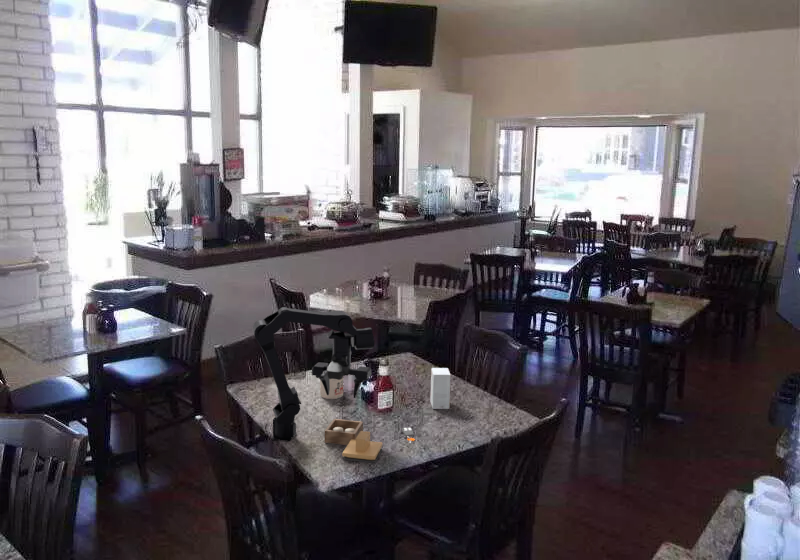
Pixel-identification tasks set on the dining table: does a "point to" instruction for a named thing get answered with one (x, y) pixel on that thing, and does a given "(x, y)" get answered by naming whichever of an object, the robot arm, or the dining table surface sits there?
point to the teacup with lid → (332, 389)
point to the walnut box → (342, 431)
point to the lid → (362, 447)
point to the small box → (440, 388)
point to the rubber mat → (363, 459)
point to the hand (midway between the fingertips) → (341, 396)
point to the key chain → (408, 434)
